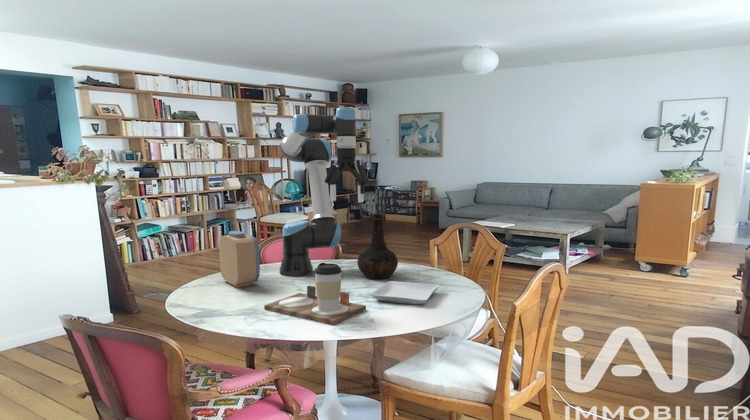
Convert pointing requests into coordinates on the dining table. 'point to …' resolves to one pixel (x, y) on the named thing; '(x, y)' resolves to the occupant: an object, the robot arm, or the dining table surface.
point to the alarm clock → (239, 259)
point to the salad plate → (405, 292)
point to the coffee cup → (328, 286)
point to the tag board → (315, 307)
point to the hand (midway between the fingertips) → (346, 201)
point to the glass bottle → (377, 254)
